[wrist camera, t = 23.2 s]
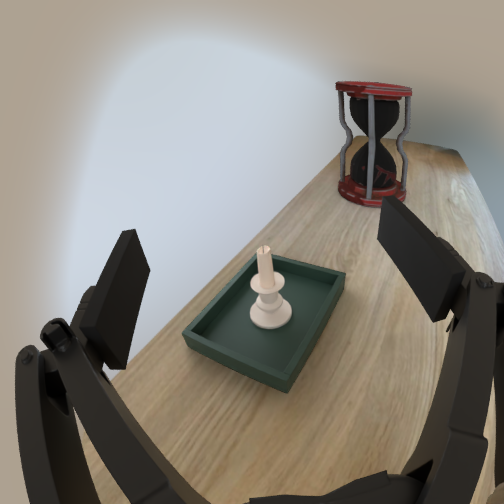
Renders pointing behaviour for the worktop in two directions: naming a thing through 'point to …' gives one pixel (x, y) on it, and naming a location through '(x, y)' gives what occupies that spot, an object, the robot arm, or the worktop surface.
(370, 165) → the hourglass
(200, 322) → the tray
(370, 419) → the worktop surface
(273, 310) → the candle
